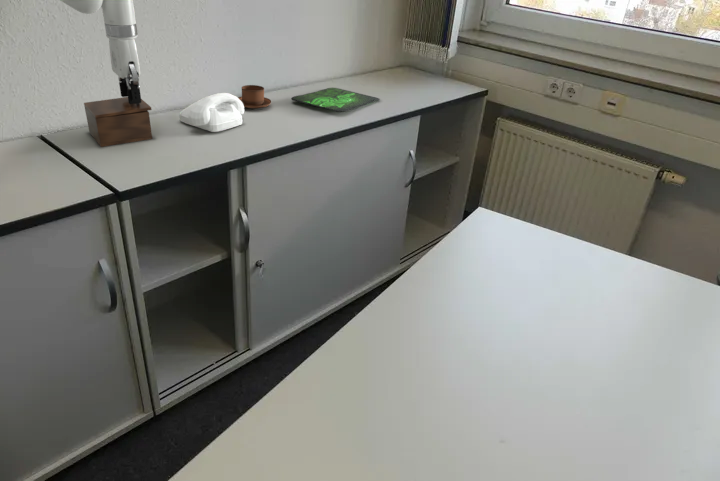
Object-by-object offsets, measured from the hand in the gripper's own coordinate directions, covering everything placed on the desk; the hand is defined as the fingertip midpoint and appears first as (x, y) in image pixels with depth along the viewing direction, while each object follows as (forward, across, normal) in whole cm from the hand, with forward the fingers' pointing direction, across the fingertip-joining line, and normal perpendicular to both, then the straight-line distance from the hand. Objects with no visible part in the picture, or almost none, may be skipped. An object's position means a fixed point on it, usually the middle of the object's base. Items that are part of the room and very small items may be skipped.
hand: (131, 99), depth 148 cm
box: (+10, 0, -4) cm, 11 cm away
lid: (+2, 0, -4) cm, 4 cm away
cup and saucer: (+10, -9, +41) cm, 43 cm away
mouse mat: (+9, -2, +70) cm, 71 cm away
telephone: (+10, +1, +22) cm, 24 cm away
